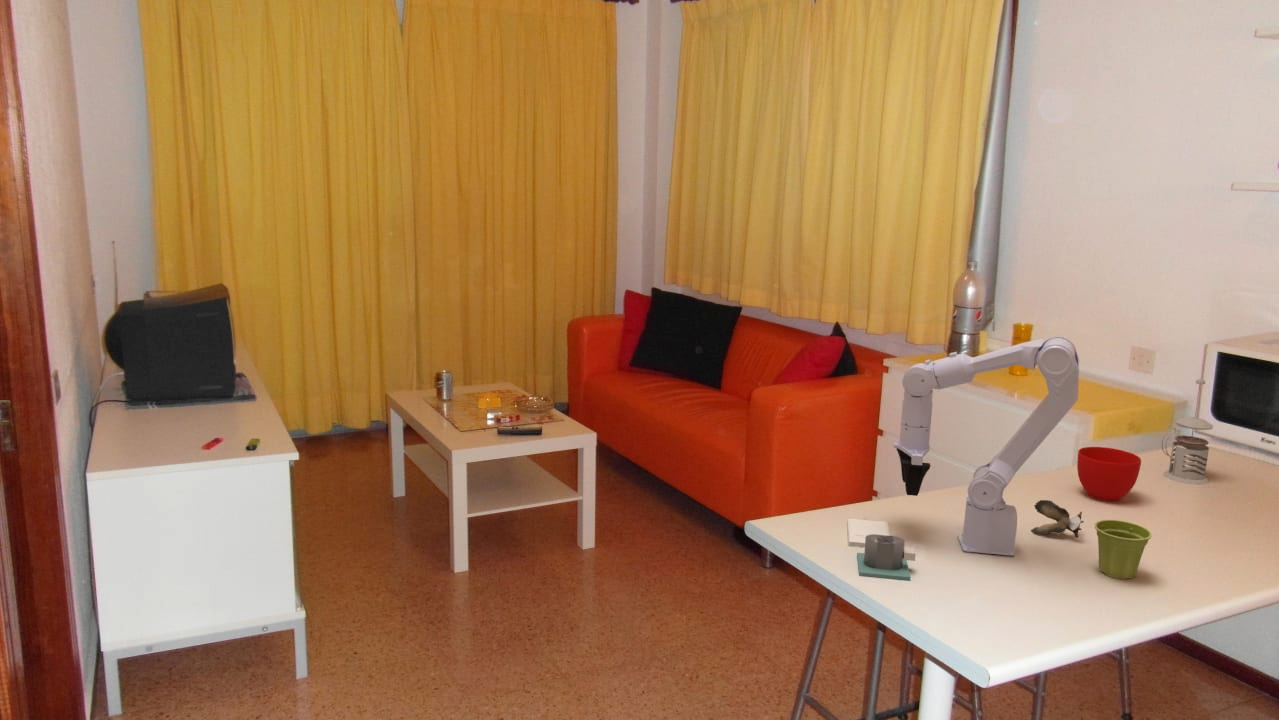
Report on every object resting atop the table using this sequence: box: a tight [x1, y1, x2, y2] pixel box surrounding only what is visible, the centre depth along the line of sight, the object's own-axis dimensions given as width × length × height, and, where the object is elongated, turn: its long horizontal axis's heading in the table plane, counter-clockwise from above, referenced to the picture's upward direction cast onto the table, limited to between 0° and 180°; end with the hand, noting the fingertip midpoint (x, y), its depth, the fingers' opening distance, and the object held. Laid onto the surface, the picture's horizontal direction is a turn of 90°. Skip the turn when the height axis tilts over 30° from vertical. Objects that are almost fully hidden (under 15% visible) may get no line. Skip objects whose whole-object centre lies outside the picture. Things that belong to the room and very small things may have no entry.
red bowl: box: [1076, 446, 1142, 502], centre depth 213 cm, size 13×17×10 cm
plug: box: [863, 534, 916, 570], centre depth 171 cm, size 9×4×5 cm, turn 80°
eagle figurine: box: [1030, 499, 1085, 539], centre depth 189 cm, size 8×7×9 cm
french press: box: [1160, 378, 1214, 485], centre depth 225 cm, size 10×12×25 cm
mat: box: [856, 552, 911, 581], centre depth 171 cm, size 9×9×1 cm
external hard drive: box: [846, 518, 891, 548], centre depth 186 cm, size 2×8×12 cm
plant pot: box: [1094, 519, 1153, 580], centre depth 171 cm, size 9×9×9 cm
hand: (910, 488), depth 187 cm, fingers open, 7 cm apart
